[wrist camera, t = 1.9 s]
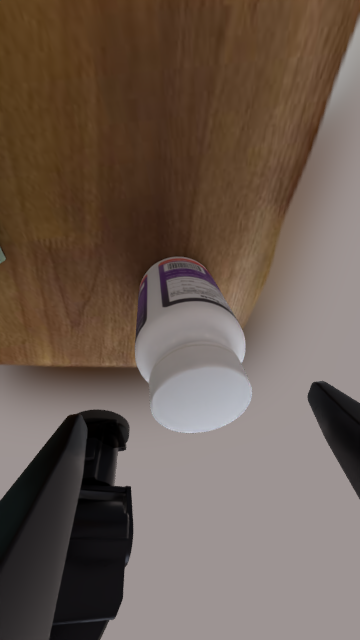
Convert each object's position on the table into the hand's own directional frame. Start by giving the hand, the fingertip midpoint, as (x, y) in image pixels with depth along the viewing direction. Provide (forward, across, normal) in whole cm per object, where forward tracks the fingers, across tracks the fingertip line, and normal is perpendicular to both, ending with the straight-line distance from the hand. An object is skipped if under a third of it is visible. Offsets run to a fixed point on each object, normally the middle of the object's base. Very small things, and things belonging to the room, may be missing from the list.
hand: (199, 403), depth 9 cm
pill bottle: (+10, 0, 0) cm, 10 cm away
